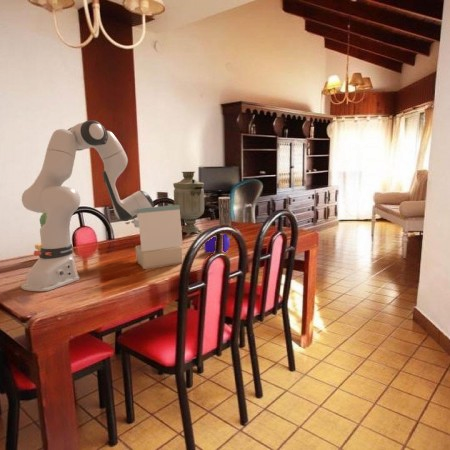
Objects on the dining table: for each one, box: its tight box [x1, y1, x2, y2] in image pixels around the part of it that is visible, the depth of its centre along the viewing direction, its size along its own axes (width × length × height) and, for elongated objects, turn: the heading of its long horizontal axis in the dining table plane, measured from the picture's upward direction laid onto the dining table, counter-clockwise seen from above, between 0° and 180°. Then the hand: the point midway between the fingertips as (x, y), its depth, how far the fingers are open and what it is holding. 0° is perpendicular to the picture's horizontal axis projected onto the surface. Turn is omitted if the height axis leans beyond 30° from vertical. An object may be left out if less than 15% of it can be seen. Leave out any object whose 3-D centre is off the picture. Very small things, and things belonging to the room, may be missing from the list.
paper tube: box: [218, 196, 232, 240], centre depth 216 cm, size 7×7×25 cm
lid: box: [137, 205, 184, 251], centre depth 164 cm, size 19×19×1 cm
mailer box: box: [135, 244, 183, 270], centre depth 172 cm, size 15×18×8 cm
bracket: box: [204, 234, 231, 254], centre depth 194 cm, size 18×11×12 cm, turn 158°
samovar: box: [167, 171, 205, 236], centre depth 235 cm, size 30×26×40 cm
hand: (160, 223), depth 164 cm, fingers closed, pressing on lid
